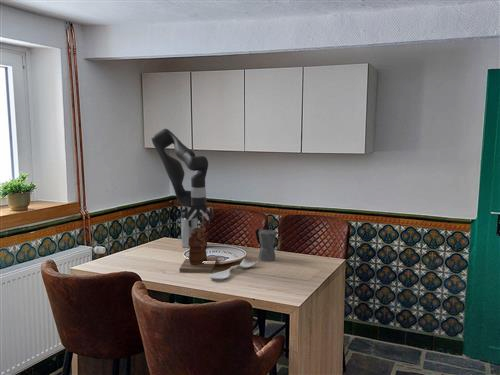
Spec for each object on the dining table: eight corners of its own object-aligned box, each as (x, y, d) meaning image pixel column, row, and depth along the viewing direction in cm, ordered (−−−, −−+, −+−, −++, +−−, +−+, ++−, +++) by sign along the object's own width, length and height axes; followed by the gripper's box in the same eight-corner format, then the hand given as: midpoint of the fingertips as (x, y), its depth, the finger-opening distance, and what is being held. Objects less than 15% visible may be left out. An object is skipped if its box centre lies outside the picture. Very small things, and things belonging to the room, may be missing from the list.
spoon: (258, 267, 248) (258, 260, 248) (219, 284, 222) (219, 276, 222) (244, 264, 253) (244, 257, 253) (204, 280, 228) (204, 273, 227)
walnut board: (187, 259, 261) (187, 256, 260) (217, 260, 260) (217, 256, 260) (179, 272, 239) (179, 268, 239) (211, 272, 238) (211, 268, 238)
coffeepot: (282, 259, 260) (282, 227, 258) (269, 263, 254) (270, 229, 251) (261, 254, 271) (261, 222, 269) (249, 257, 265) (249, 225, 262)
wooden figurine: (198, 266, 242) (198, 230, 240) (187, 264, 245) (186, 229, 242) (209, 259, 253) (209, 226, 251) (198, 258, 256) (198, 225, 253)
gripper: (183, 197, 241) (184, 229, 243) (211, 197, 240) (212, 229, 243) (185, 194, 248) (186, 225, 251) (213, 194, 248) (214, 225, 250)
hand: (199, 227), depth 247 cm, fingers open, 8 cm apart
